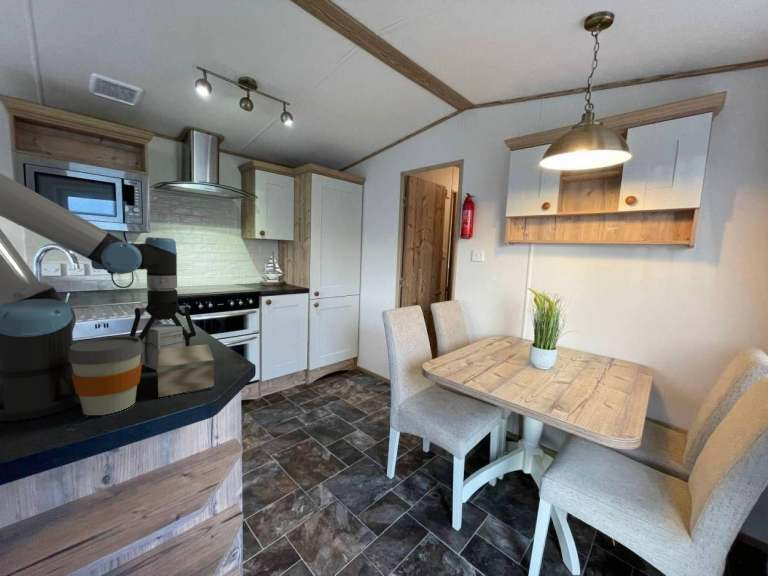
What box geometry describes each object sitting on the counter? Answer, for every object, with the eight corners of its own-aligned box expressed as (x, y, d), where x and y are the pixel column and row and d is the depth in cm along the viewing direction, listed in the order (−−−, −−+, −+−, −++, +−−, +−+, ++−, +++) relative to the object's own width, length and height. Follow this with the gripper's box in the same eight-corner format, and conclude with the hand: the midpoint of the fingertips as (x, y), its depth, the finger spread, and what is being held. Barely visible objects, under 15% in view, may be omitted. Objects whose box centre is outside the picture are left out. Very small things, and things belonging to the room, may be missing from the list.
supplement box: (144, 367, 97) (143, 326, 96) (170, 360, 104) (169, 322, 103) (158, 372, 94) (157, 330, 93) (183, 365, 101) (183, 325, 99)
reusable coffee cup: (136, 390, 82) (134, 333, 80) (151, 407, 74) (149, 343, 72) (67, 407, 72) (63, 342, 70) (77, 428, 64) (72, 355, 62)
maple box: (157, 399, 78) (156, 367, 77) (159, 376, 91) (158, 349, 90) (214, 389, 84) (214, 359, 84) (208, 369, 98) (208, 343, 97)
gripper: (112, 291, 87) (116, 370, 90) (205, 289, 100) (206, 359, 102) (116, 288, 93) (119, 362, 96) (203, 287, 106) (204, 352, 108)
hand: (164, 360), depth 99 cm, fingers closed on supplement box, 10 cm apart
